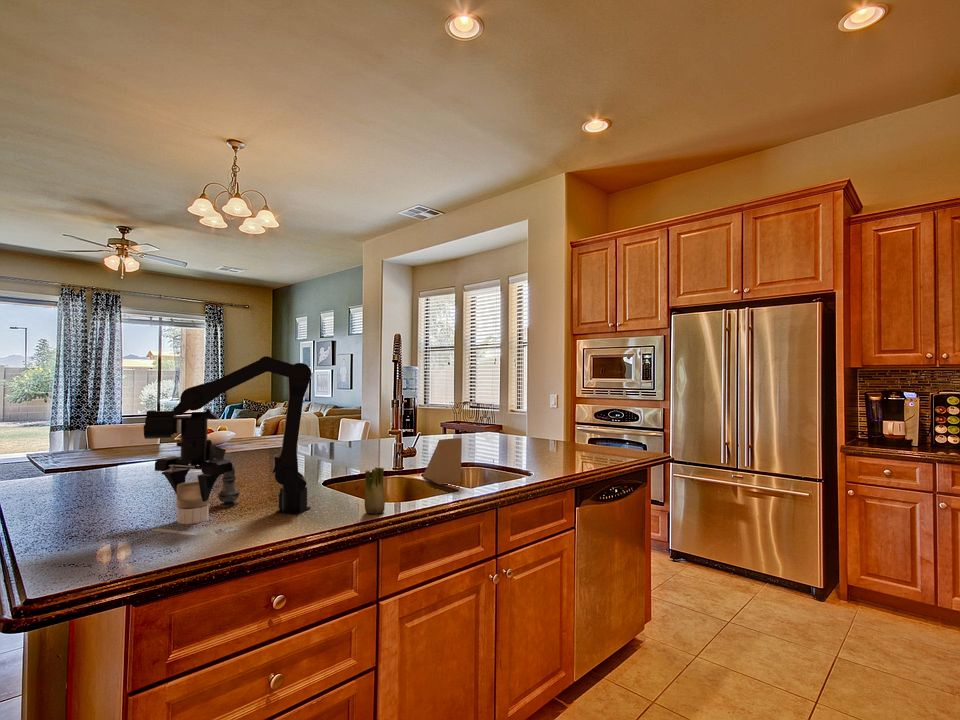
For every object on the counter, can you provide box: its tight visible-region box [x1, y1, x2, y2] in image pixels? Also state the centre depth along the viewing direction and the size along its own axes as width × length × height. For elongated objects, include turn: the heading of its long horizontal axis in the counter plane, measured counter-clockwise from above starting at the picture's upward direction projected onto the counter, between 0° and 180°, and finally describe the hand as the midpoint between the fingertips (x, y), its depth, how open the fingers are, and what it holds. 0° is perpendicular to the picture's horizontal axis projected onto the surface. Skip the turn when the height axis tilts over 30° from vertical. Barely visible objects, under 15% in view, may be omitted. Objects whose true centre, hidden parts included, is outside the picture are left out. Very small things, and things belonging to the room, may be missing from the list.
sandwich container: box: [422, 437, 463, 485], centre depth 176 cm, size 9×15×15 cm, turn 28°
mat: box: [151, 528, 200, 536], centre depth 110 cm, size 12×12×1 cm
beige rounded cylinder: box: [176, 480, 210, 508], centre depth 125 cm, size 7×7×5 cm
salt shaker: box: [216, 465, 241, 508], centre depth 140 cm, size 6×6×12 cm
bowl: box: [176, 503, 210, 525], centre depth 125 cm, size 7×7×4 cm
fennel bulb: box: [364, 466, 386, 515], centre depth 133 cm, size 6×5×12 cm
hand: (193, 500), depth 125 cm, fingers closed on beige rounded cylinder, 7 cm apart
